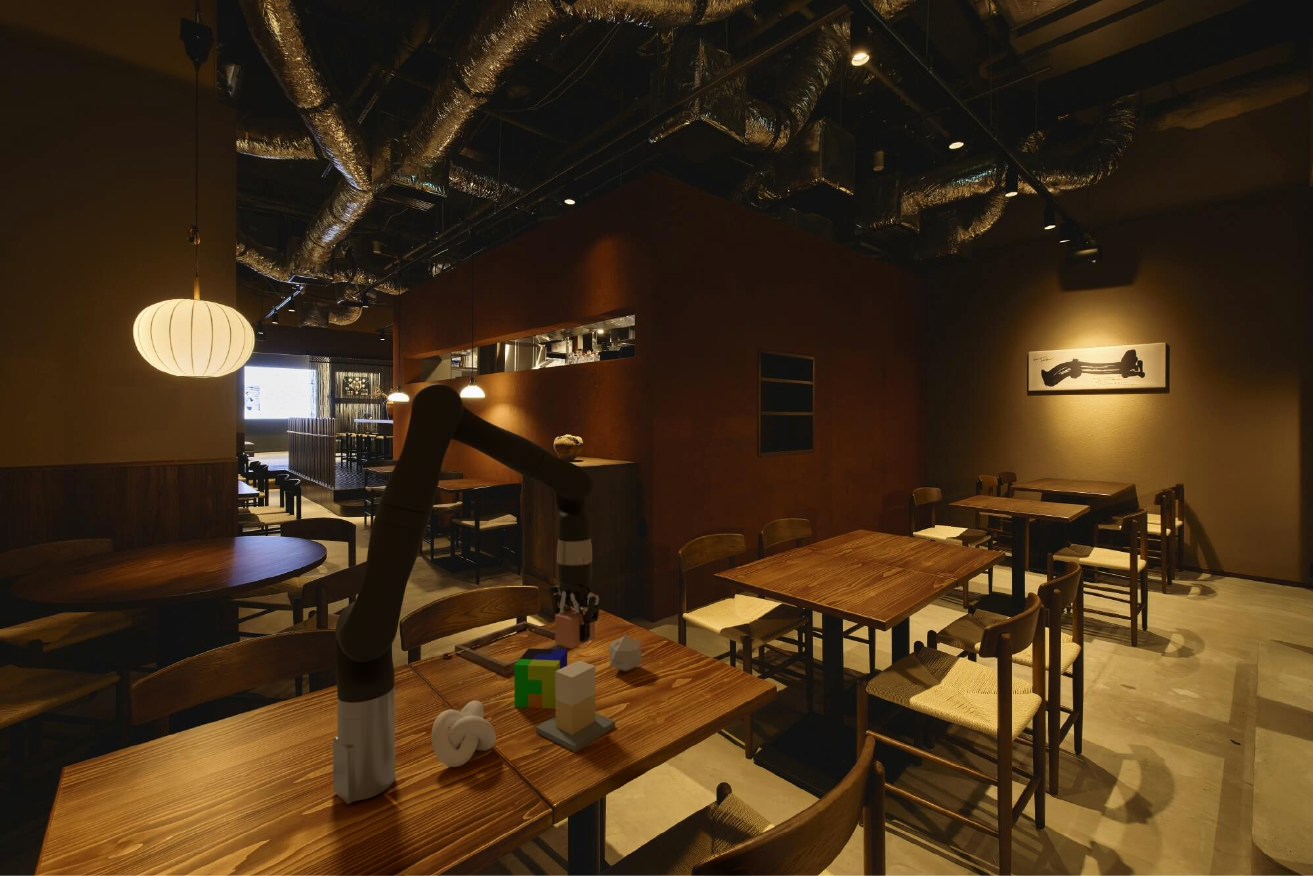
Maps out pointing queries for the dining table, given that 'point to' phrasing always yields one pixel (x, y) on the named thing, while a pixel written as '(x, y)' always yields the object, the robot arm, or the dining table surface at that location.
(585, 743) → the baseplate
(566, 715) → the brick mustard
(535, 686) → the puzzle toy
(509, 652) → the dining table surface
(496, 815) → the dining table surface
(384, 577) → the robot arm
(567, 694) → the brick white
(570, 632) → the brick terracotta
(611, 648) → the die
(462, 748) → the white knot
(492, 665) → the tray frame
